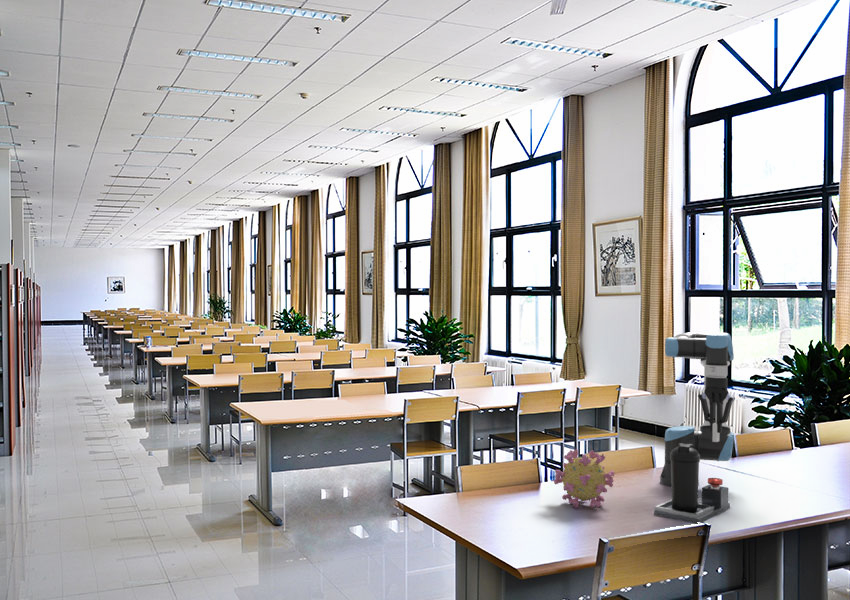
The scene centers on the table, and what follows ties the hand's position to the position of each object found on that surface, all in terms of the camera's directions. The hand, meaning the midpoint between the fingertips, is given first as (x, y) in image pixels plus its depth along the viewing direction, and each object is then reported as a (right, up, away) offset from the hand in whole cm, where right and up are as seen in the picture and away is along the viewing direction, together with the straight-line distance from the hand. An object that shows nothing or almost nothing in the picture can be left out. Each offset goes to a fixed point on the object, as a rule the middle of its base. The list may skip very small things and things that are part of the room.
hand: (715, 441), depth 279 cm
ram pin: (0, -22, 0) cm, 22 cm away
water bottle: (-14, -23, -8) cm, 28 cm away
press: (-10, -24, -4) cm, 27 cm away
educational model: (-48, -24, +2) cm, 53 cm away
